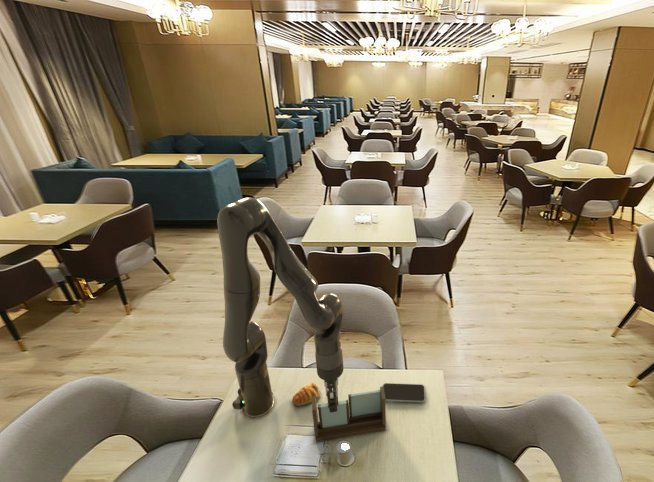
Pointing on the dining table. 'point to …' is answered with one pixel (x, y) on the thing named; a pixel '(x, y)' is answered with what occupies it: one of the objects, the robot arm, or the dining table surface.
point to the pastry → (306, 395)
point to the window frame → (356, 416)
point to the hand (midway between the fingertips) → (333, 400)
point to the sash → (334, 414)
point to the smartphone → (404, 392)
